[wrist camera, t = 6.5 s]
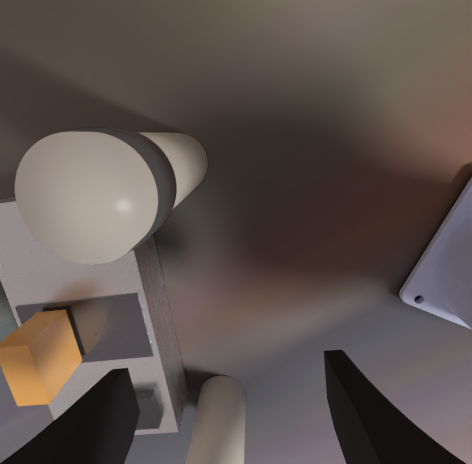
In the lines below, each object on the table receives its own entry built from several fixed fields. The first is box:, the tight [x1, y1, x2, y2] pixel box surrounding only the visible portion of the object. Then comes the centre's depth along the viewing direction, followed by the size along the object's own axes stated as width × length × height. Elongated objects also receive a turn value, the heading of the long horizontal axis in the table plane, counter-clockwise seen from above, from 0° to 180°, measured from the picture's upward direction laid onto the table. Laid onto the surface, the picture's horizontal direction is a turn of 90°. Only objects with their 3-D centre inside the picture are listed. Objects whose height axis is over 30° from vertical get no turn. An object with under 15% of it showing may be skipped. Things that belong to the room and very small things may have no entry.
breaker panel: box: [0, 196, 189, 435], centre depth 18 cm, size 7×14×4 cm, turn 8°
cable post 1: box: [15, 127, 208, 265], centre depth 12 cm, size 3×3×10 cm
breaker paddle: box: [0, 309, 82, 406], centre depth 15 cm, size 2×3×3 cm, turn 8°
